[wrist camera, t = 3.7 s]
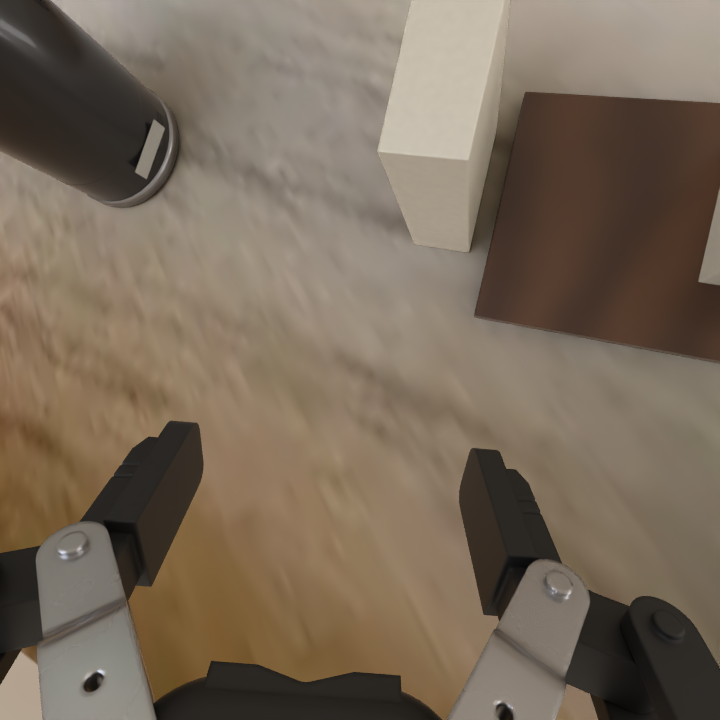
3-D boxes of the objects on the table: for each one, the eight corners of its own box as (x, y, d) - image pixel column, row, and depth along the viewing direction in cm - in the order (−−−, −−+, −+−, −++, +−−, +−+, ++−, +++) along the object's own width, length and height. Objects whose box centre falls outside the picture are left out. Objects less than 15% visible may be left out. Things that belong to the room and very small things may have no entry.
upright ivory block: (414, 244, 29) (376, 151, 17) (440, 126, 29) (421, -49, 17) (469, 253, 28) (468, 160, 16) (496, 130, 28) (516, -51, 16)
